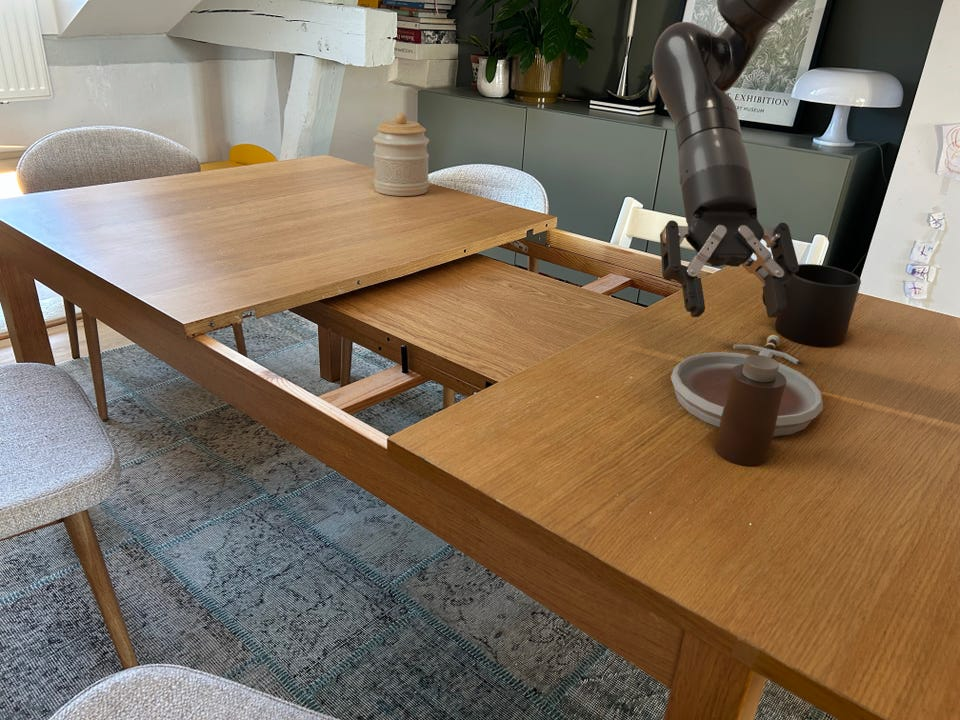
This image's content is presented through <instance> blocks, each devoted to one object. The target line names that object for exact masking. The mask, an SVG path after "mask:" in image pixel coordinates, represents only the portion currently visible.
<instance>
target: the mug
mask: <svg viewBox="0 0 960 720" xmlns="http://www.w3.org/2000/svg"><path fill="white" fill-rule="evenodd" d="M798 265H799V270H798V271H797V272H796V273H795V274H793V275H792V276H791V277H790V278H789V279H788V280H787V281H785V282H783V285H784V290H785V296H786V301H787V304H786V308H784V309H783V312H782V313H781V314H780V315H779V316H777V317H776V318H775V323H774V327H775V331H776V332H777V333H778V334H779V335H780V336H782V337H784V338H786V339H788V340H790V341H792V342H794V343H798V344H802V345H806V346H811V347H812V346H813V347H823V348H824V347H835V346H839V345H841V344H842V343H843V342H844V341H845V339H846V337H847V333H848V329H849V325H850V322H851V320H852V316H853V312H854V308H855V304H856V302H857V299H858V294H859V291H860V288H861V287H860V286H861V284H862V280H861V277H859V276H858V275H856V274H854V273H853V272H850V271H848V270H845V269H842V268H838V267H835V266H830V265H824V264H814V263H801V264H799V263H798ZM762 302H763V305H764V307H766V304H765V299H764V293H763V292H762Z"/></svg>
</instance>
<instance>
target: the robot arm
mask: <svg viewBox="0 0 960 720" xmlns="http://www.w3.org/2000/svg"><path fill="white" fill-rule="evenodd" d="M798 1H799V0H716V8H717V11H718V13H719V15H720V16H721V18H722V19H723V20H724V22H725V23H726V24H727V25H726V26H725V28H724V30H723V31H722V32H721V33H720V34H719V35H718V34H716V33H714V32H712V31H710V30H708V29H706V28H704V27H702V26H700V25H698V24H695V23H694V22H689V21H680V22H676V23H673V24H672V25H669V26H668V27H667V28H666V29H664V31H663V32H662V33H661V34H660V36H659V37H658V38H657V40H656V42H655V46H654V48H653V52H652V61H651V64H652V65H651V67H652V74H653V78H654V81H655V85H656V87H657V90H658V92H659V95H660V97H661V99H662V102H663V104H664V106H665V108H666V110H667V113H668V115H669V116H670V118H671V120H672V122H673V124H674V130H675V139H676V145H677V152H678V173H679V177H678V178H679V179H678V181H679V184H680V186H681V187H680V188H681V194H682V200H683V208H684V215H685V221H686V225H687V226H686V225H679V224H678V221H675V220H673V219H672V220H669V221H668V222H667V223H666V225H665V226H664V228H663V229H662V230H661V232H660V234H659V239H660V240H659V243H660V256H661V258H660V259H661V273H662V278H663V279H664V280H665V281H672V280H673V281H675V282H678V283H679V284H680V285H681V290H682V296H683V304H684V309H685V310H686V312H687V313H690V317H691V318H699V317H701V316H702V315H703V314H704V313H705V311H706V303H705V298H704V296H705V295H704V290H703V284H702V283H703V282H702V278H701V277H698V275H699V273H700V272H701V271H702V269H703V268H704V266H705V265H706V263H707V264H710V265H711V267H721V266H729V267H737V268H739V267H740V266H742V267H743V268H744V269H745V271H747V273H749V274H752V275H754V276H755V277H756V278H758V280H759V281H760V282H761V283H762V284H763V286H762V294H763V293H764V299H765V304H766V306H765V309H766V310H765V311H766V314H767V317H768V318H770V319H771V318H775V319H777V316H779V315H780V314H781V313H782V312H783V309H784V308H786V304H787V301H786V296H785V290H784V285H783V282H785V281H787V280H788V279H789V278H790V277H791V276H792V275H793V274H795V273H796V272H797V271H798V270H799V261H798V257H797V254H796V250H795V246H794V242H793V239H792V235H791V231H790V228H789V227H790V226H789V225H788V224H787V223H786V222H779V223H778V224H777V225H776V226H767V227H766V226H765V227H763V226H762V225H761V223H760V221H759V219H758V205H757V198H756V193H755V187H754V183H753V182H754V181H753V177H752V171H751V166H750V160H749V156H748V152H747V149H746V147H745V143H744V141H743V140H744V139H743V135H742V130H741V124H740V119H739V114H738V109H737V107H736V103H735V101H734V100H733V99H732V97H731V96H730V95H729V94H728V93H727V92H728V91H729V90H730V89H732V88H733V87H734V86H735V84H736V83H737V82H738V81H739V79H740V78H741V76H742V74H743V73H744V71H745V69H746V68H747V66H748V65H749V63H750V62H751V60H752V58H753V57H754V55H755V53H756V52H757V50H758V49H759V47H760V46H761V44H762V42H763V40H764V39H765V37H766V36H767V33H768V32H769V31H770V29H771V28H772V27H773V26H775V24H776V23H777V22H778V21H780V20H781V19H782V17H783V16H784V15H785V14H786V13H787V12H788V11H790V9H792V7H793V6H795V4H796V3H797V2H798ZM684 240H685V241H686V242H687V243H688V244H689V245H690V246H691V248H693V250H694V251H695V252H696V253H695V254H694V256H693V257H692V259H691V260H690V262H689V263H688V264H687V265H684V264H682V256H681V244H682V243H683V241H684ZM762 240H763V241H764V242H765V245H764V244H763V243H762V242H761V241H762ZM769 249H770V250H769ZM753 255H754V256H755V257H756V259H754V258H752V256H753Z"/></svg>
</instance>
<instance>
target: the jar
mask: <svg viewBox="0 0 960 720" xmlns="http://www.w3.org/2000/svg"><path fill="white" fill-rule="evenodd" d="M376 131H377V134H376V135H374V136H373V138H372V140H373V142H374V143H375V147H374V151H373V153H372V155H373V171H374V172H373V175H374V176H373V187H374V190H375V192H378V193H379V194H383V195H387V196H396V197H397V196H398V197H413V196H419V195H423V194H426V193H427V192H428V190H429V186H430V184H429V182H430V180H429V158H430V154H429V152H428V145H429V143H430V139H429V138H428V137H427V136H426V135H425V133H426V131H427V129H426V127H424V126H422V125H421V124H420V122H416V121H409V120H408V116H407V114H406V113H404V112H398V113H397V114H396V115H395V120H386V121H383V122H382V123H381V124H380V125H378V126H377V127H376Z"/></svg>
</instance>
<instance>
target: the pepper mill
mask: <svg viewBox="0 0 960 720" xmlns="http://www.w3.org/2000/svg"><path fill="white" fill-rule="evenodd" d="M749 355H750V356H747V357H746V358H745V361H744V364H740V365H737V366H735V367H733V369H732V371H731V375H730V380H729V385H728V389H727V394H726V398H725V403H724V408H723V412H722V417H721V421H720V426H719V427H718V430H717V435H716V441H715V445H714V449H715V451H716V453H717V454H718V455H719V456H720V457H721V458H722V459H724V460H726V461H728V462H730V463H732V464H736V465H739V466H743V467H756V466H760V465H763V464H764V463H765V462H766V461H767V459H768V456H769V452H770V448H771V445H772V442H773V441H772V440H773V437H774V436H773V433H774V429H775V425H776V421H777V417H778V414H779V410H780V406H781V402H782V398H783V394H784V390H785V386H786V382H787V380H786V377H785V376H784V375H783V374H782V373H780V372H779V371H778V369H779V363H780V362H778V361H777V360H776V359H775V358H773V357H772V358H770V357H766V356H762V355H758V354H749Z"/></svg>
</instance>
